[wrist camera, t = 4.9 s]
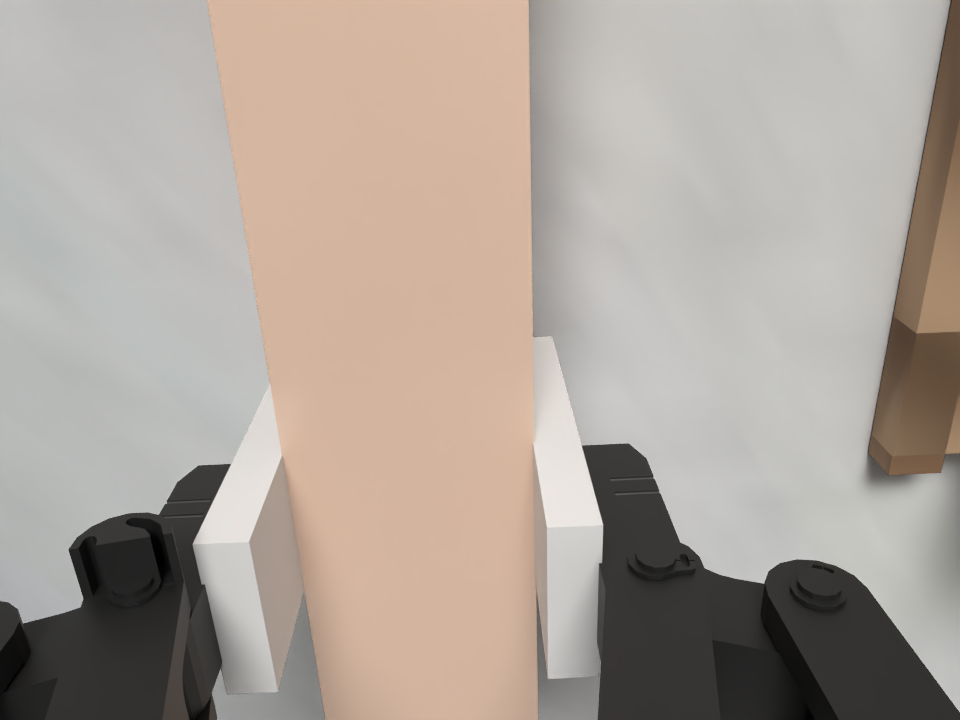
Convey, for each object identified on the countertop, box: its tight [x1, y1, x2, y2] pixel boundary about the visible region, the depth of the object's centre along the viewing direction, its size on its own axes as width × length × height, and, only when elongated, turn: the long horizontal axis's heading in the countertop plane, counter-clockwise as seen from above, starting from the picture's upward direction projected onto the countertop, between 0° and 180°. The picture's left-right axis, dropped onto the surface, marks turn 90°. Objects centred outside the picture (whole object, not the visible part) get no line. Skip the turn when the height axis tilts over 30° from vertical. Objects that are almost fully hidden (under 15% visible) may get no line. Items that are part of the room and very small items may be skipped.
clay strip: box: [207, 0, 538, 720], centre depth 14 cm, size 18×4×5 cm, turn 2°
